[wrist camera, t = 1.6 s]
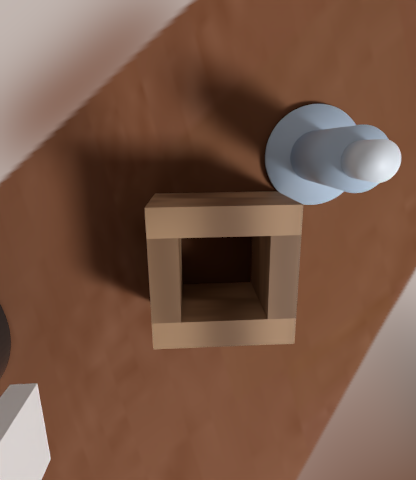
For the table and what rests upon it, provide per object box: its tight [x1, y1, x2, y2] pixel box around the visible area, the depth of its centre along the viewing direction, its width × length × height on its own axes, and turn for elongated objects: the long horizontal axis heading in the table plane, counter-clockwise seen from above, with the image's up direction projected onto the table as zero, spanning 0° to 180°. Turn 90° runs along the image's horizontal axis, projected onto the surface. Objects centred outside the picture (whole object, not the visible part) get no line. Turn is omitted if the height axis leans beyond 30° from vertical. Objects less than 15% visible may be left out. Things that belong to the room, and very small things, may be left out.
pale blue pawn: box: [265, 104, 401, 205], centre depth 20 cm, size 7×7×9 cm
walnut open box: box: [145, 191, 303, 349], centre depth 23 cm, size 9×9×6 cm
